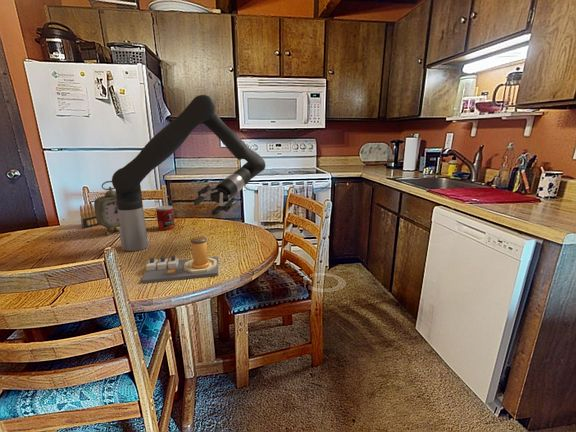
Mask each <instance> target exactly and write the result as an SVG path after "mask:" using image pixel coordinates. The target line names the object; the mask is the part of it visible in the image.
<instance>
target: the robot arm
mask: <svg viewBox="0 0 576 432" xmlns="http://www.w3.org/2000/svg"><path fill="white" fill-rule="evenodd" d="M201 123H202V124H203V125H204V126H205V127H207V128H208V129H209V130H210V131H211V132H212V133H214V135H215V136H216V137H217V138H218V140H220V142H221V143H222V144H223V145H224V146H225V147H226V148H227V150H229V152H230V153H231V155H233V157H235V158H236V160H238V161H240V160H245V161H246V163H244V164H243V165H242V166H241V167H240V168H238V169H236V170H235V171H234V172H233V173H232V174H229V175H228V176H227V177H225V178H224V179H223V180H221V181H220V182H219V183H218V184H217V185H216V186H215V188H212V187H211V186H210V184H207V185H205V186H204V187H203V188H202V189H200V190H198V191H197V196H198V197H196V198H195V199H194V200H193V203H194V206H195V207H197V206H198V205H200V204H201V203H202V202H204V201H213V202H215V203H217V204H219V205H217V206H216V207H214V209H212V210H211V212H210V213H211V215H212V216H217V215H218V214H219V213H220V212H222V211H224V212H226V213H227V212H228V211H229V210H230V209H232V207H233V206H234V205H235V203H236V199H235V196H236V195H237V194H238V193H239V192H240V191H242V189H243V188H244V187H245V186H247V184H248V183H250V181H251V180H252V179H253V178H255V177H256V176H258V175H259V174H260V173H262V172H263V171H264V170H265V169H266V161H265V160H264V158H263V157H262V156H261V155H260V154H259V153H257V152H255V151H254V150H252V149H251V148H249V146H248V145H247V144H246V143H245V142H244V141H243V140H242V138H241V137H240V136H239V135H238V134H236V132H234V130H232V129H231V128H230V127H228V126H227V124H226V123H225V122H224V121H223V120H222V119H221V118H220V116H219V115H218V113H217V112H216V105H215V102H214V99H213V98H211V97H210V96H209V95H207V94H199V95H196V96H195V97H193V99H191V101H190V103H189V104H188V105H187V106H186V107H185V109H183V111H182V112H181V113H180V114H179V115H178V116H176V118H174V119H173V120H171V121H170V122H169V123H168V124H166V125H165V126H164V127H163V128H162V129H160V131H159V130H158V131H159V132H157V133H156V134H155V135H154V136H153V137H151V139H150V140H149V141H148V142H147V143H146V145H144V146H143V148H142V150H140V152H139V153H138V154H137V155H136V156H135V157H134V158H133V159H132V160H131V161H130V162H128V163H127V164H126V165H124V166H123V167H121V168H119V169H117V170H116V171H115V172H114V173H113V175H112V177H111V181H112V182H111V184H112V186H113V187H112V188H115V189H114V191H116V198H117V209H118V215H119V221H120V227H118V232H119V237H120V244H121V250H122V251H123V252H124V251H126V252H135V251H136V252H138V251H140V250H145V249H146V248H148V247H149V240H148V234H147V233H148V232H147V226H146V225H147V224H146V219H145V218H146V217H145V213H144V206H143V205H144V204H143V195H142V186H141V183H142V182H143V180H144V179H145V178H146V177H147V176H148V175H149V174H150V173H151V172H152V171H153V170H154V169H156V168H157V167H158V166H159V165H161V164H162V163H163V162H166V160H167V159H168V158H170V156H172V155H174V153H175V152H176V151H177V150H178V149H179V148H180V147H181V146H182V145H183V143H184V142H185V141H186V140H187V138H188V137H189V135H190V134H191V133H192V132H193V130H194V129H196V127H198V126H200V125H201ZM209 195H210V196H209ZM224 203H225V204H224Z"/></svg>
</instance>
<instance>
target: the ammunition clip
mask: <svg viewBox="0 0 576 432" xmlns="http://www.w3.org/2000/svg"><path fill="white" fill-rule="evenodd" d="M79 210H80V212H79V213H80V221H81V228H82V229H83V228H86V229H90V228H94V227H97V226H101V225H100V224H99V223H98V221H97V219H96V216H95V210H94V204H93V203H90V204H89V203H87V206H86V204H83V206H82V205H79ZM93 226H94V227H93ZM89 227H90V228H89Z"/></svg>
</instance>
